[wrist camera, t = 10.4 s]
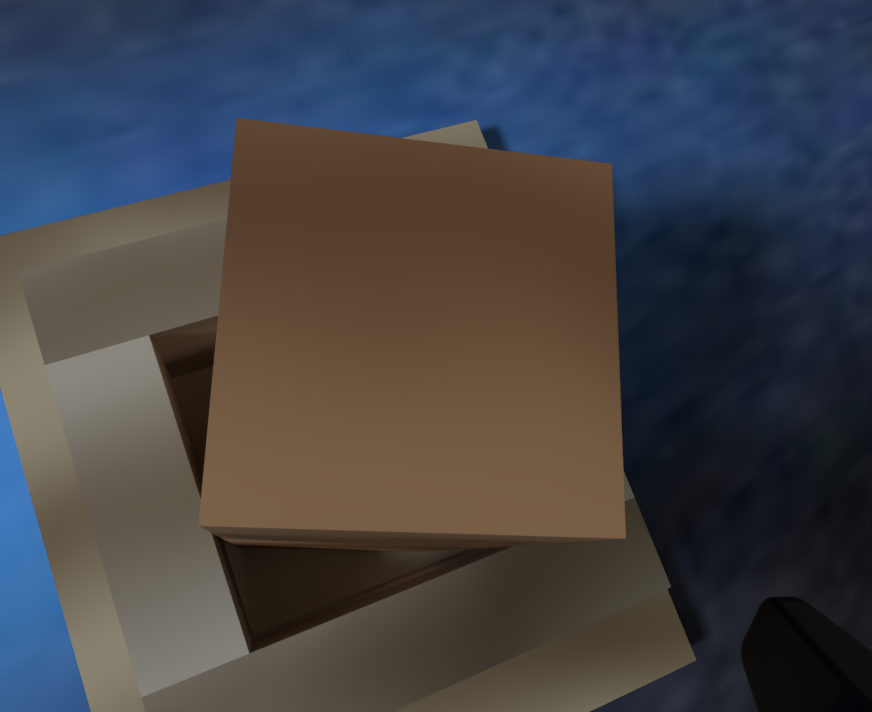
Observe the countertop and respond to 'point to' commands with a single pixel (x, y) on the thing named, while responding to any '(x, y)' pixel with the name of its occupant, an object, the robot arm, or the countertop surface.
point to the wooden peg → (413, 347)
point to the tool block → (267, 567)
